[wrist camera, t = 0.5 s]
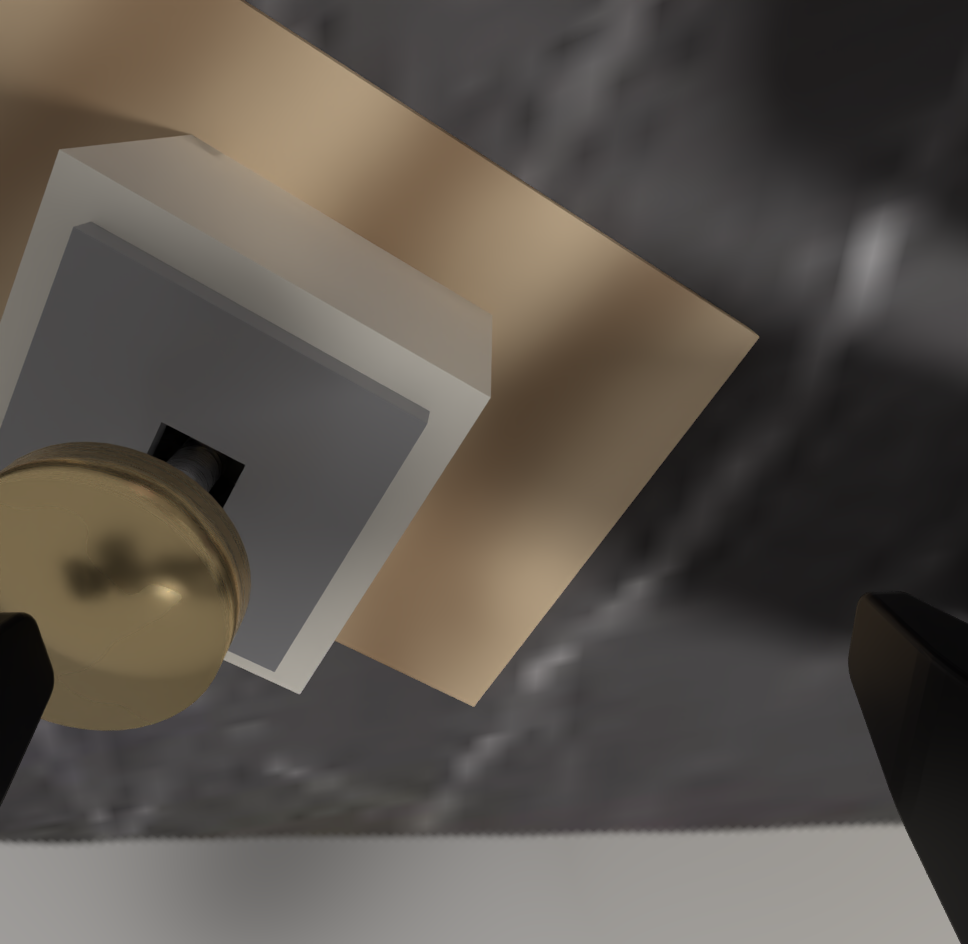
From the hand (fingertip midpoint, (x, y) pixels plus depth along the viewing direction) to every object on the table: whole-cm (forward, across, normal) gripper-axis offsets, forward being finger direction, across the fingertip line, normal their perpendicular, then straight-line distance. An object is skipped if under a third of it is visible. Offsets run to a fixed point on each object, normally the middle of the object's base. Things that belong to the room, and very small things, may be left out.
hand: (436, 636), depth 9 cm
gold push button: (+8, +5, +1) cm, 10 cm away
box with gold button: (+12, +5, 0) cm, 13 cm away
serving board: (+13, +5, 0) cm, 14 cm away
